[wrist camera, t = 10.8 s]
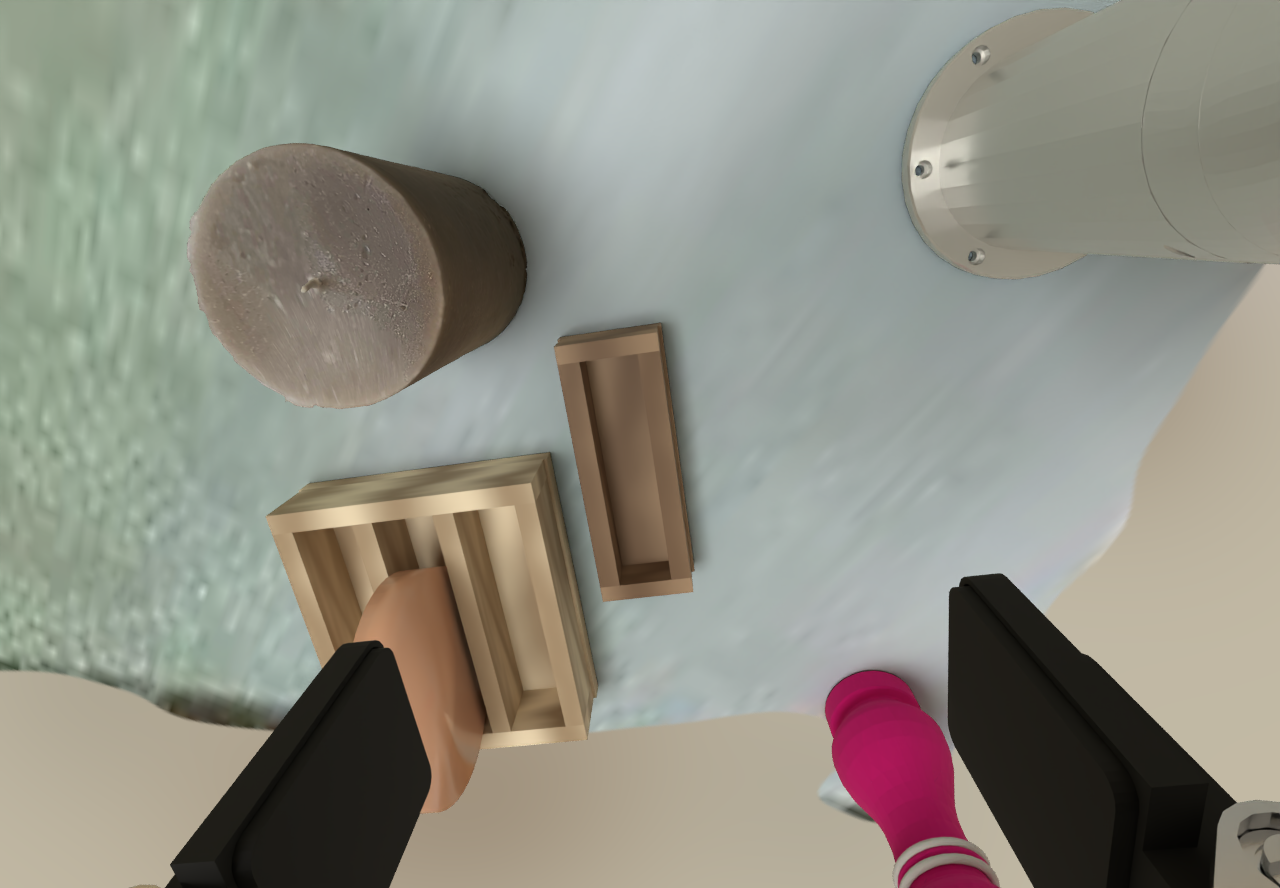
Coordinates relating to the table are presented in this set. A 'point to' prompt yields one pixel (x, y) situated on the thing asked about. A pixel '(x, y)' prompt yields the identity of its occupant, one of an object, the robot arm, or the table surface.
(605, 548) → the narrow wooden tray
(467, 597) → the rack
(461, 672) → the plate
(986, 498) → the table surface
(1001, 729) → the robot arm
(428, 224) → the pillar candle
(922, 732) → the pepper mill
